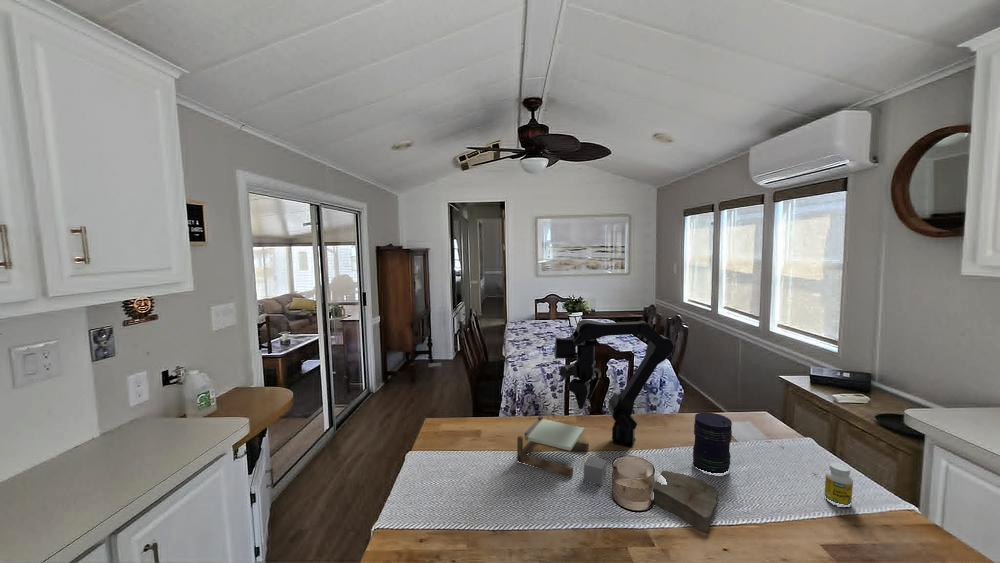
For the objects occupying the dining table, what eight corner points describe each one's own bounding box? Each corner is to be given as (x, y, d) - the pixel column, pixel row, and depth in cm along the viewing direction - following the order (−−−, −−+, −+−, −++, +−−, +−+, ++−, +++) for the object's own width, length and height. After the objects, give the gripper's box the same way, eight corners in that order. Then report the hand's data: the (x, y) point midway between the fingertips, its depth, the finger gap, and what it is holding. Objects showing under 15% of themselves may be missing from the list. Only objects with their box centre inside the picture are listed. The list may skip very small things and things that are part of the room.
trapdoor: (521, 439, 123) (521, 435, 123) (539, 421, 135) (539, 417, 135) (570, 451, 116) (570, 447, 116) (584, 431, 128) (584, 427, 128)
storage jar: (687, 467, 119) (689, 419, 118) (698, 455, 127) (700, 409, 125) (724, 481, 113) (727, 430, 111) (733, 466, 120) (736, 418, 119)
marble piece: (707, 535, 92) (708, 518, 92) (643, 509, 102) (643, 493, 101) (722, 499, 105) (722, 484, 105) (664, 479, 114) (664, 465, 114)
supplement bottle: (844, 497, 105) (847, 463, 104) (855, 510, 100) (858, 474, 99) (820, 494, 107) (822, 459, 106) (829, 506, 102) (832, 470, 101)
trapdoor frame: (517, 462, 123) (517, 437, 122) (539, 438, 138) (539, 415, 137) (571, 477, 114) (572, 451, 114) (588, 450, 130) (588, 426, 129)
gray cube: (605, 476, 115) (606, 460, 115) (601, 486, 111) (602, 469, 110) (588, 472, 117) (589, 456, 117) (583, 481, 113) (584, 464, 113)
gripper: (571, 349, 145) (570, 390, 147) (552, 362, 129) (552, 409, 130) (601, 352, 140) (600, 396, 141) (586, 367, 123) (585, 416, 125)
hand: (584, 403), depth 135 cm, fingers open, 9 cm apart
